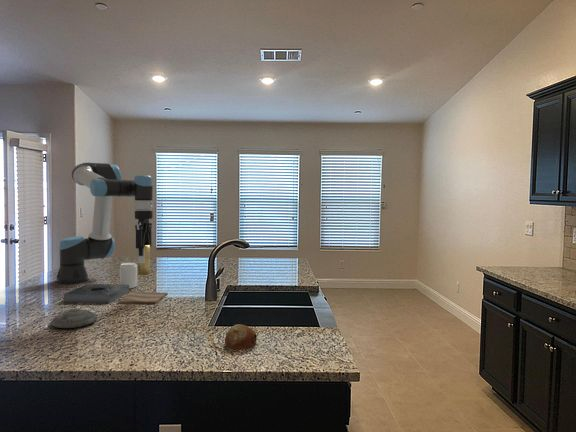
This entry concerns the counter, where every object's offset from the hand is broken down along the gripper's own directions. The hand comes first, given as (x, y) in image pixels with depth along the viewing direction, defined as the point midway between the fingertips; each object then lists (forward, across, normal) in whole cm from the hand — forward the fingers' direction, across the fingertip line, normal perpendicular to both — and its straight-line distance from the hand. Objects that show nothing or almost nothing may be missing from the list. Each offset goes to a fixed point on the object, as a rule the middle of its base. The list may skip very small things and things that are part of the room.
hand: (144, 261), depth 178 cm
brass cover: (+6, 0, 0) cm, 6 cm away
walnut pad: (+17, 0, 0) cm, 17 cm away
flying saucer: (+17, -35, +12) cm, 41 cm away
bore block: (+17, +2, +22) cm, 28 cm away
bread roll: (+18, -51, -51) cm, 74 cm away
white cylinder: (+17, +21, +16) cm, 31 cm away
